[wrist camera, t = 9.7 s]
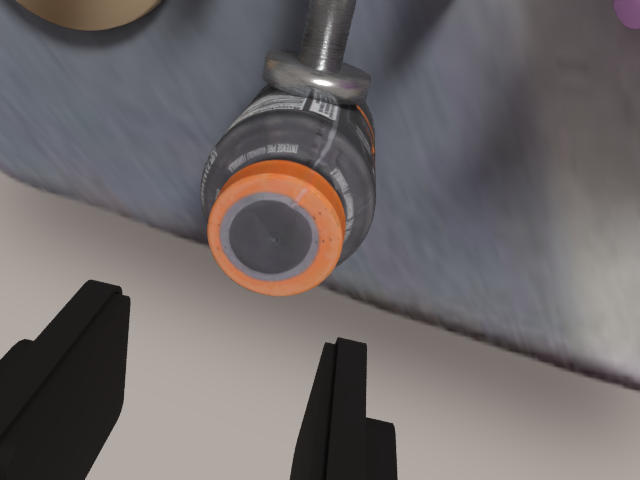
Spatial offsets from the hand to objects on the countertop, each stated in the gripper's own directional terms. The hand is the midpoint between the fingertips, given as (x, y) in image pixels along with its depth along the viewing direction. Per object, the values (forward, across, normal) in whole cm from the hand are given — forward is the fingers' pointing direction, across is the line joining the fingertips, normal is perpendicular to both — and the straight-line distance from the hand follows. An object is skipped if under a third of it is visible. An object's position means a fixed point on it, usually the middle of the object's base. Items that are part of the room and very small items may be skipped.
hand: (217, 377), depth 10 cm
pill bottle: (+18, 0, 0) cm, 18 cm away
